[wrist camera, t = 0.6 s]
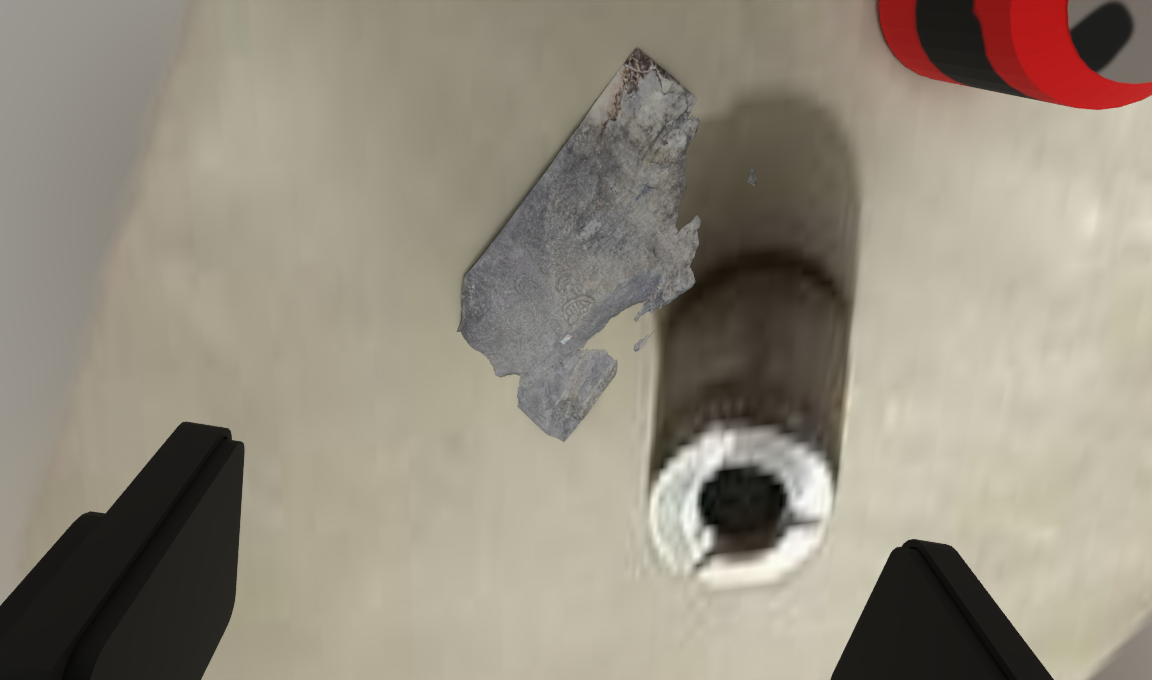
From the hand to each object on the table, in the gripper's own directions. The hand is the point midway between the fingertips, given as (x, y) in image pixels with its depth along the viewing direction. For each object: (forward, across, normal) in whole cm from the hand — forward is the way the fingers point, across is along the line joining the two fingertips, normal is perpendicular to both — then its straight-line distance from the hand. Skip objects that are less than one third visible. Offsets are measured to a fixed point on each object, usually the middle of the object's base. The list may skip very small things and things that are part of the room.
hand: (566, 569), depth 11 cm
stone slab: (+29, -3, +4) cm, 29 cm away
